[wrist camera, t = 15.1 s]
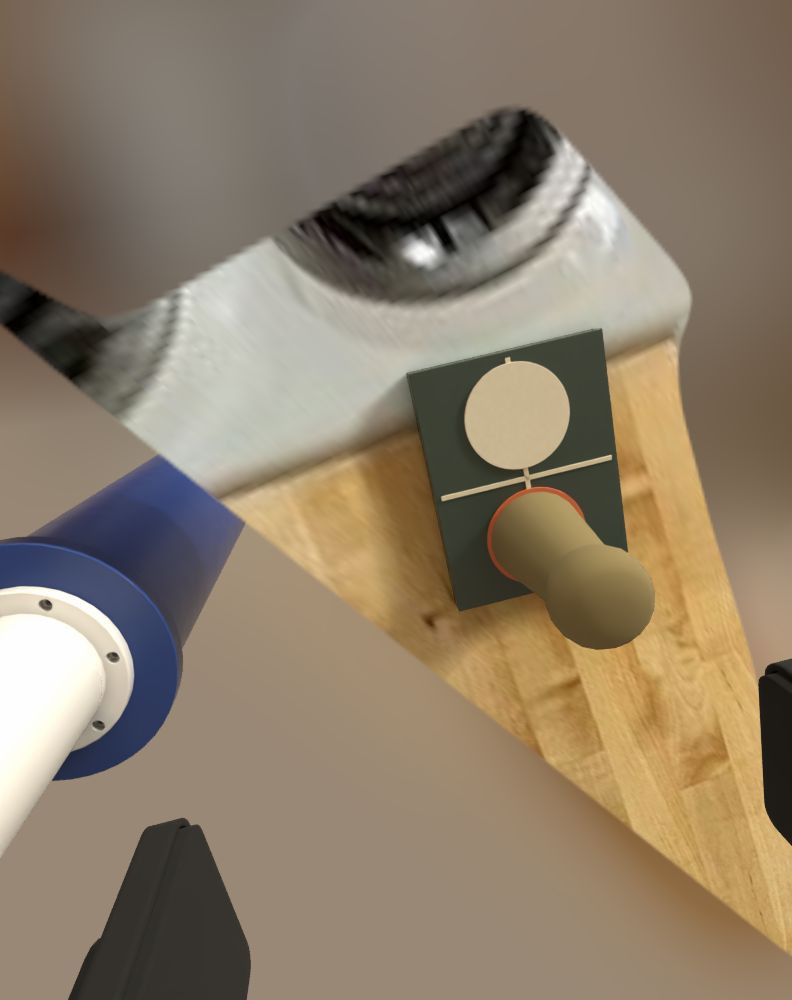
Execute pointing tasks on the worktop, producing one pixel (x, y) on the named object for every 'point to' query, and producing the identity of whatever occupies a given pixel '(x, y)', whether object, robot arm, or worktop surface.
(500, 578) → the board
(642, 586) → the cork
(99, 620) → the robot arm
